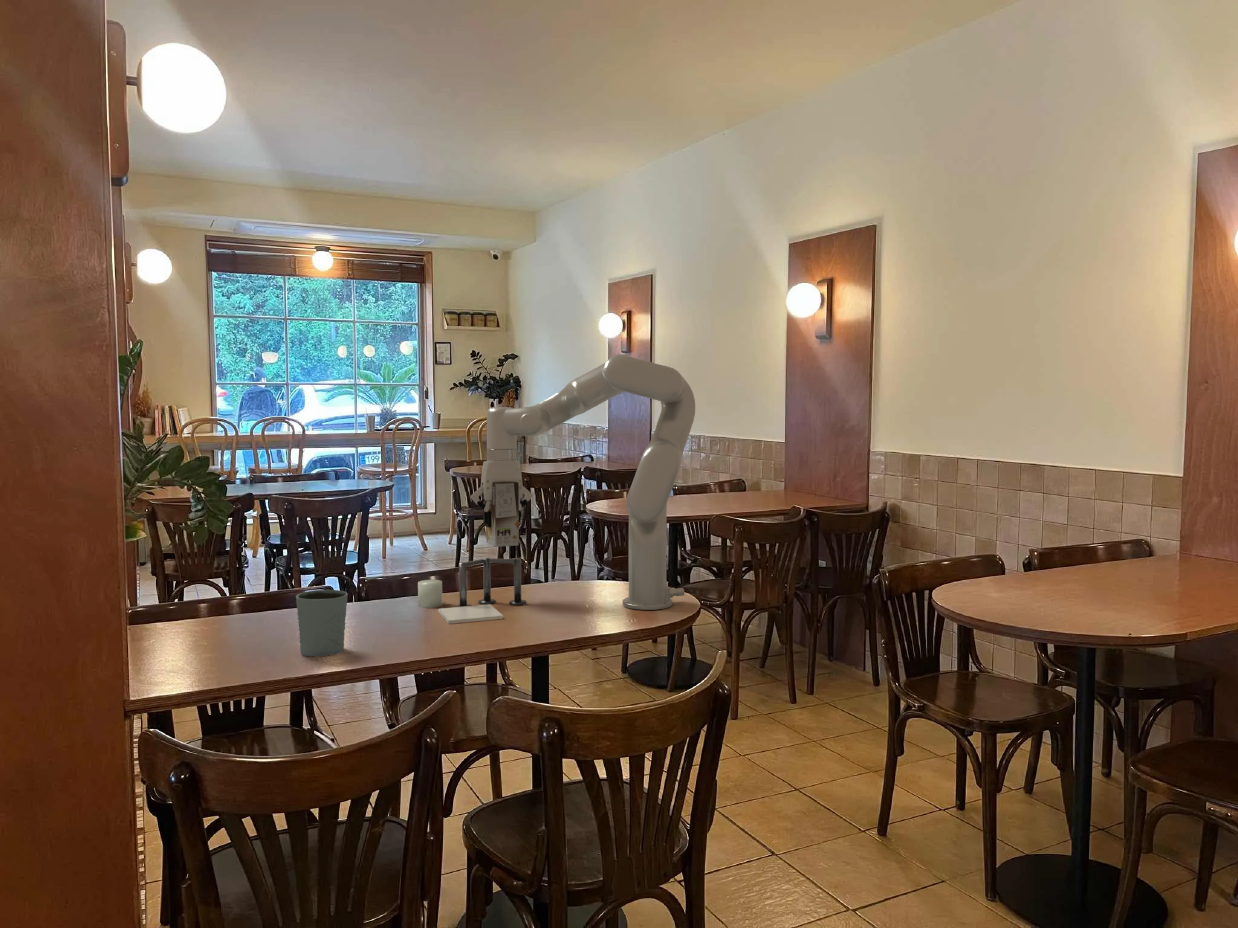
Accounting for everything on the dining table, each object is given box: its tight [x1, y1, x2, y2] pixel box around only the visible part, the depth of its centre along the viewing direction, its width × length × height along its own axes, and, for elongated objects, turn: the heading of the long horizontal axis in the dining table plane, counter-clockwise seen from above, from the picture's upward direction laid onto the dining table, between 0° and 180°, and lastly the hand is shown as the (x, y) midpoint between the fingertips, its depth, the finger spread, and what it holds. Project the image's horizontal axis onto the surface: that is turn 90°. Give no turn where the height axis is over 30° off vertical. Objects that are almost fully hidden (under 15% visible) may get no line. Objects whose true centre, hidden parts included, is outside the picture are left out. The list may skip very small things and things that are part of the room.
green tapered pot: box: [295, 589, 349, 657], centre depth 191 cm, size 10×10×12 cm
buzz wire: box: [453, 557, 527, 608], centre depth 234 cm, size 18×8×12 cm, turn 111°
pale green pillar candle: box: [417, 579, 443, 609], centre depth 234 cm, size 6×6×6 cm
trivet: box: [437, 604, 504, 625], centre depth 223 cm, size 13×13×1 cm
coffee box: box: [485, 482, 520, 548], centre depth 234 cm, size 9×6×16 cm
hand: (502, 525), depth 235 cm, fingers closed on coffee box, 6 cm apart
